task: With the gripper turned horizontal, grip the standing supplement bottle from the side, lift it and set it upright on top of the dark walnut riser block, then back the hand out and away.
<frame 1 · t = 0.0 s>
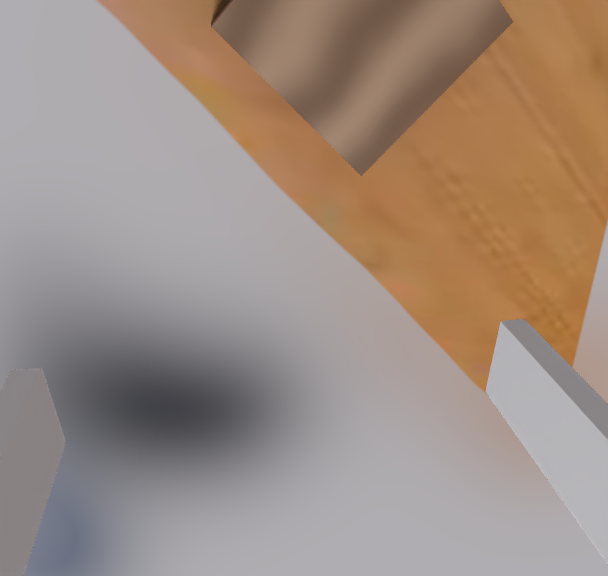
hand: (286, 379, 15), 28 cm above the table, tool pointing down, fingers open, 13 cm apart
walnut riser: (353, 21, 36), on the table
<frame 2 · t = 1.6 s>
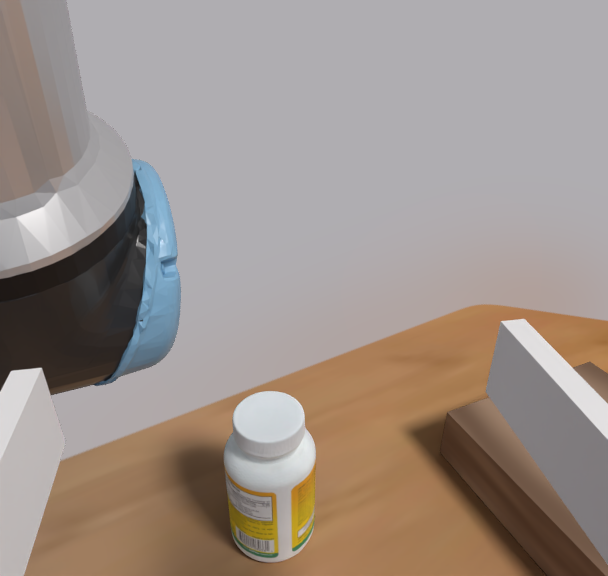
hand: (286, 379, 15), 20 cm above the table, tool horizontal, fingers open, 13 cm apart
supplement bottle: (273, 527, 33), on the table
walnut riser: (586, 492, 35), on the table
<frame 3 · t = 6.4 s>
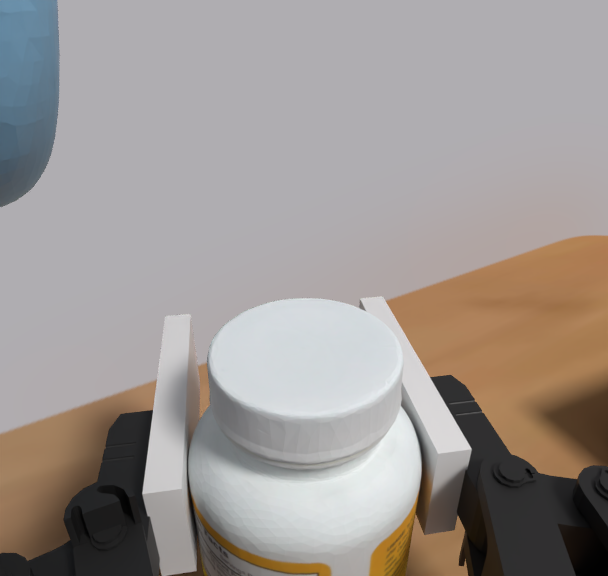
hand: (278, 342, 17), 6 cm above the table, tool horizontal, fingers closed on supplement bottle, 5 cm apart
when the fingers open (11 cm above the table, at t = 11.0 s): supplement bottle drops 1 cm, resting on walnut riser.
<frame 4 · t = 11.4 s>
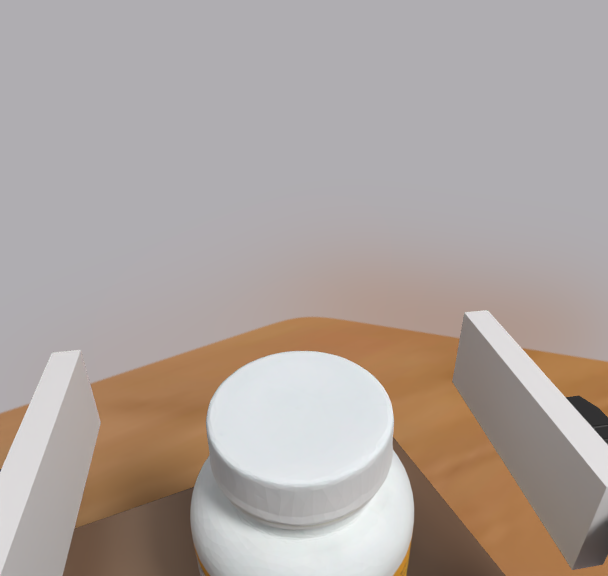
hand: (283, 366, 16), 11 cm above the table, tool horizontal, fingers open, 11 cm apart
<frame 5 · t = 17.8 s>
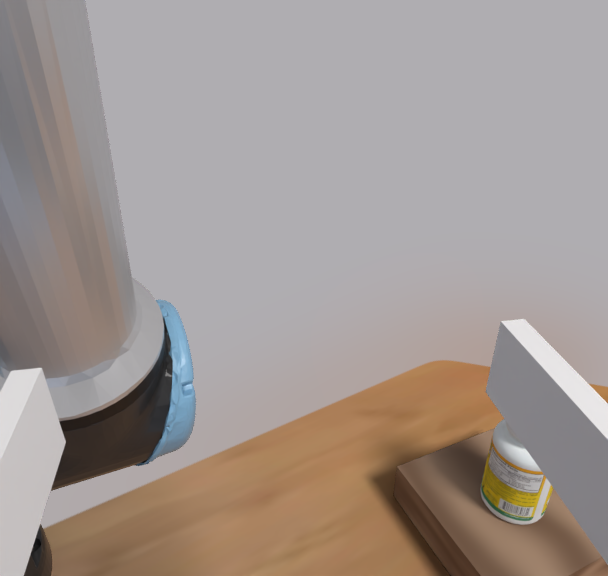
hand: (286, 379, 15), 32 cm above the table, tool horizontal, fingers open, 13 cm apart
supplement bottle: (511, 500, 44), point 4 cm above the table, touching walnut riser
walnut riser: (502, 528, 46), on the table
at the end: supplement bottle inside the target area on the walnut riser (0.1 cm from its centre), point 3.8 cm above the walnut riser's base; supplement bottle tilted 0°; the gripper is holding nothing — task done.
